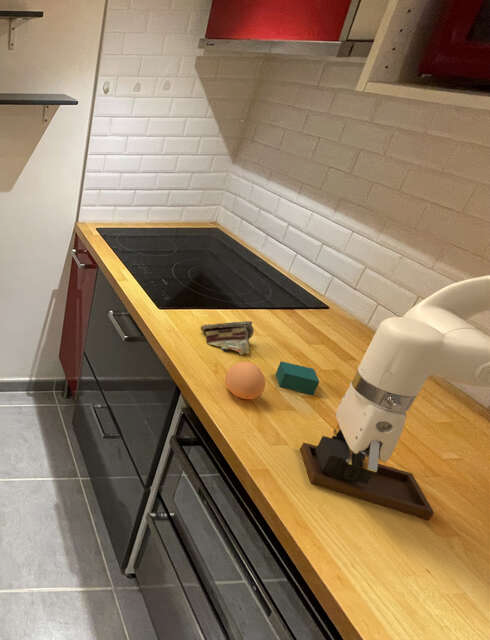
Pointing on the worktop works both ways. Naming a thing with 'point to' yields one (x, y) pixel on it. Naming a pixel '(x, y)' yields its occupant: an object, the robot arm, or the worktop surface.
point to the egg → (245, 380)
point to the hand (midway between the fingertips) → (341, 465)
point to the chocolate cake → (229, 335)
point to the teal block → (297, 378)
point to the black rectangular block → (336, 456)
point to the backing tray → (372, 486)
